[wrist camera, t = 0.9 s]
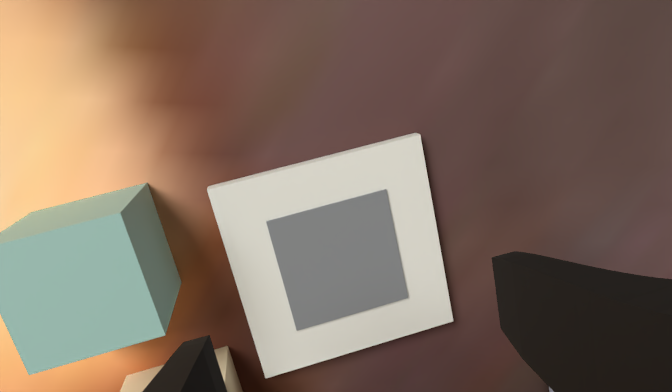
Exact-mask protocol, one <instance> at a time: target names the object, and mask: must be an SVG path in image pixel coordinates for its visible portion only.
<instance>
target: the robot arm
mask: <svg viewBox="0 0 672 392" xmlns="http://www.w3.org/2000/svg"><path fill="white" fill-rule="evenodd" d="M492 263H493V271H494V279H495V286H496V294H497V302H498V310H499V318H500V326H501V329H502V330H503V332H504V333H505V335H506V336H507V338H508V339H509V341H510V342H511V343H512V345H513V346H514V348H515V349H516V350H517V352H518V353H519V354H520V356H521V357H522V358H523V359H524V361H525V362H526V363H527V364H528V365H529V366H530V367H531V368H532V369H533V370H534V371H535V372H536V373H537V374H538V375H539V377H540V378H541V379H542V380H543V381H544V382H545V383H546V384H547V385H548V386H549V392H672V279H663V278H654V277H647V276H640V275H634V274H628V273H622V272H616V271H611V270H606V269H601V268H596V267H591V266H586V265H581V264H577V263H572V262H568V261H563V260H559V259H554V258H550V257H545V256H541V255H536V254H530V253H524V252H510V253H507V254H503V255H499V256H496V257H492ZM142 392H227V389H226V386H225V383H224V380H223V376H222V373H221V370H220V367H219V364H218V361H217V357H216V354H215V351H214V348H213V345H212V342H211V338H210V335H208V336H205V337H201V338H197V339H194V340H190V341H186V342H184V343H183V344H182V345H181V346H180V347H179V348H178V349H177V350H176V351H175V353H174V354H173V355H172V356H171V357H170V359H169V360H168V361H167V362H166V364H165V365H164V366H163V367H162V368H161V370H160V371H159V372H158V373H157V374H156V376H155V377H154V378H153V379H152V380H151V382H150V383H149V384H148V385H147V386H146V388H145V389H144V390H143V391H142Z"/></svg>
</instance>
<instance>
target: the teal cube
mask: <svg viewBox="0 0 672 392" xmlns="http://www.w3.org/2000/svg"><path fill="white" fill-rule="evenodd" d="M181 283H182V282H181V279H180V276H179V273H178V271H177V268H176V265H175V262H174V259H173V256H172V253H171V250H170V247H169V245H168V242H167V239H166V236H165V233H164V230H163V227H162V224H161V221H160V219H159V216H158V213H157V210H156V207H155V204H154V201H153V198H152V195H151V193H150V190H149V187H148V184H147V183H144V184H140V185H136V186H133V187H129V188H125V189H121V190H117V191H113V192H109V193H105V194H101V195H97V196H93V197H89V198H86V199H82V200H78V201H74V202H70V203H66V204H62V205H58V206H54V207H50V208H46V209H42V210H38V211H35V212H31V213H30V214H28V215H27V216H25V217H24V218H22V219H20V220H19V221H17V222H16V223H14V224H13V225H11V226H10V227H8V228H7V229H5V230H3V231H2V232H0V314H1V316H2V319H3V321H4V323H5V325H6V327H7V329H8V331H9V333H10V336H11V338H12V340H13V342H14V344H15V346H16V348H17V350H18V353H19V355H20V357H21V359H22V361H23V363H24V365H25V368H26V370H27V372H28V374H29V375H31V374H35V373H38V372H41V371H45V370H48V369H52V368H55V367H59V366H62V365H65V364H69V363H72V362H76V361H79V360H83V359H86V358H89V357H93V356H96V355H100V354H103V353H107V352H110V351H113V350H117V349H120V348H124V347H127V346H131V345H134V344H138V343H141V342H144V341H148V340H151V339H155V338H158V337H162V336H165V335H166V332H167V328H168V325H169V322H170V319H171V315H172V312H173V309H174V306H175V302H176V299H177V296H178V293H179V289H180V286H181Z"/></svg>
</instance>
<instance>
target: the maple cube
mask: <svg viewBox="0 0 672 392" xmlns="http://www.w3.org/2000/svg"><path fill="white" fill-rule="evenodd" d="M214 351H215V354H216V357H217V361H218V364H219V367H220V370H221V373H222V376H223V380H224V383H225V386H226V389H227V392H243V391H242V388H241V384H240V381H239V378H238V375H237V372H236V369H235V366H234V363H233V360H232V357H231V354H230V351H229V348H228V346H225V347H222V348H218V349H215V350H214ZM164 365H165V364H164ZM164 365H161V366H158V367H154V368H151V369H147V370H144V371H141V372H137V373H134V374H130V375H127V376H126V378H125V381H124V383H123V386H122V388H121V391H120V392H142V391H143V390H144V389H145V388H146V386H147V385H148V384H149V383H150V382H151V380H152V379H153V378H154V377H155V376H156V374H157V373H158V372H159V371H160V370H161V368H162V367H163V366H164Z"/></svg>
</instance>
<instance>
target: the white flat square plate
mask: <svg viewBox="0 0 672 392" xmlns="http://www.w3.org/2000/svg"><path fill="white" fill-rule="evenodd" d="M207 192H208V195H209V198H210V201H211V204H212V208H213V211H214V214H215V217H216V220H217V224H218V227H219V230H220V233H221V237H222V240H223V243H224V246H225V249H226V253H227V256H228V259H229V262H230V266H231V269H232V272H233V275H234V278H235V282H236V285H237V288H238V291H239V294H240V298H241V301H242V304H243V307H244V311H245V314H246V317H247V320H248V323H249V327H250V330H251V333H252V336H253V340H254V343H255V346H256V349H257V352H258V356H259V359H260V362H261V365H262V368H263V372H264V375H265V378H269V377H273V376H276V375H279V374H283V373H286V372H289V371H292V370H296V369H299V368H302V367H305V366H309V365H312V364H315V363H318V362H322V361H325V360H328V359H332V358H335V357H338V356H341V355H345V354H348V353H351V352H354V351H358V350H361V349H364V348H368V347H371V346H374V345H377V344H381V343H384V342H387V341H390V340H394V339H397V338H400V337H403V336H407V335H410V334H413V333H417V332H420V331H423V330H426V329H430V328H433V327H436V326H439V325H443V324H446V323H449V322H453V316H452V310H451V305H450V299H449V293H448V288H447V282H446V277H445V271H444V265H443V260H442V254H441V248H440V243H439V237H438V232H437V226H436V220H435V215H434V209H433V203H432V198H431V192H430V187H429V181H428V175H427V170H426V164H425V158H424V153H423V147H422V142H421V136H420V134H418V133H413V134H409V135H405V136H401V137H397V138H393V139H390V140H386V141H382V142H378V143H374V144H370V145H366V146H362V147H359V148H355V149H351V150H347V151H343V152H339V153H335V154H331V155H328V156H324V157H320V158H316V159H312V160H308V161H304V162H301V163H297V164H293V165H289V166H285V167H281V168H277V169H273V170H270V171H266V172H262V173H258V174H254V175H250V176H246V177H242V178H239V179H235V180H231V181H227V182H223V183H219V184H215V185H211V186H208V188H207Z"/></svg>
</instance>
